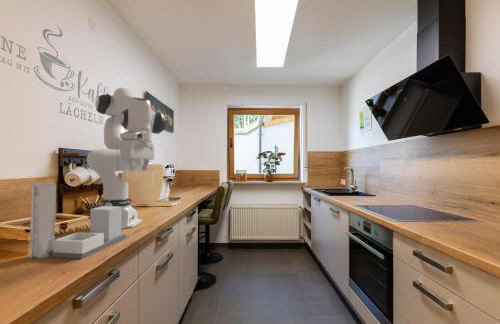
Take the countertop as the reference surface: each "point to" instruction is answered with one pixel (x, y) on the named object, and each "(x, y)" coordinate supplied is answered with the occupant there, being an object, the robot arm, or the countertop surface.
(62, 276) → the countertop surface
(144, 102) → the robot arm
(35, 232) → the white upright block
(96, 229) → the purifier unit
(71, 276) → the countertop surface
